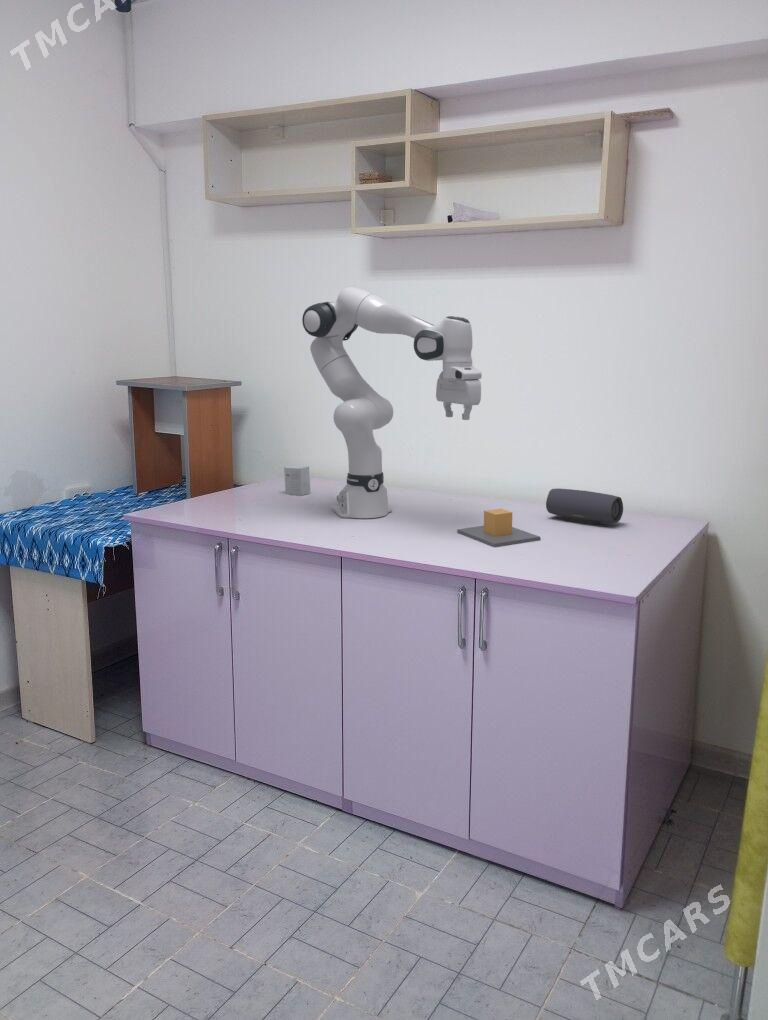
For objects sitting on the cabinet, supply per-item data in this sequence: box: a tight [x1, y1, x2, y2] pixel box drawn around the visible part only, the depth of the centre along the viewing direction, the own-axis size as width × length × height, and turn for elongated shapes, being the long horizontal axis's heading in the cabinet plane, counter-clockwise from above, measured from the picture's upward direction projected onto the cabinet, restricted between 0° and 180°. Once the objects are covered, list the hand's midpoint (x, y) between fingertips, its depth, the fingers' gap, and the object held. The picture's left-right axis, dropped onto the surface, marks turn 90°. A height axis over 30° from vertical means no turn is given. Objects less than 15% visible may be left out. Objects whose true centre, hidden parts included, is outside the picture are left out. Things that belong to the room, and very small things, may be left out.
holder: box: [456, 525, 541, 548], centre depth 247 cm, size 20×16×4 cm
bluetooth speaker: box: [545, 488, 624, 525], centre depth 263 cm, size 23×9×10 cm, turn 48°
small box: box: [283, 464, 311, 496], centre depth 315 cm, size 8×6×10 cm
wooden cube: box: [483, 508, 513, 536], centre depth 247 cm, size 6×6×6 cm
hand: (457, 418), depth 251 cm, fingers open, 8 cm apart
